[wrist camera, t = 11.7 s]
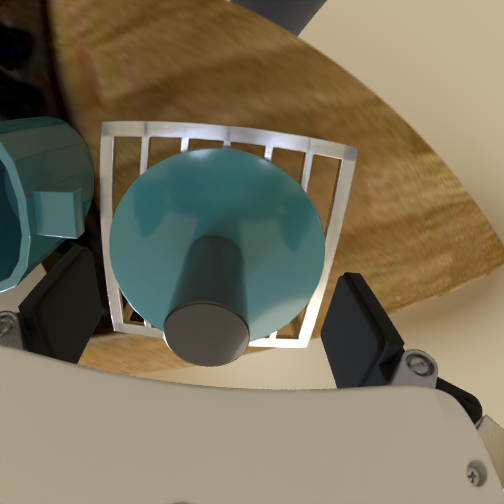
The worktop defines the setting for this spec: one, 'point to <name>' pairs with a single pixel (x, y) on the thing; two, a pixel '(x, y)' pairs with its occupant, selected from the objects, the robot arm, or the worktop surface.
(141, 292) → the lid
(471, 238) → the worktop surface
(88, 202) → the pot
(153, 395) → the robot arm
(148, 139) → the rack
